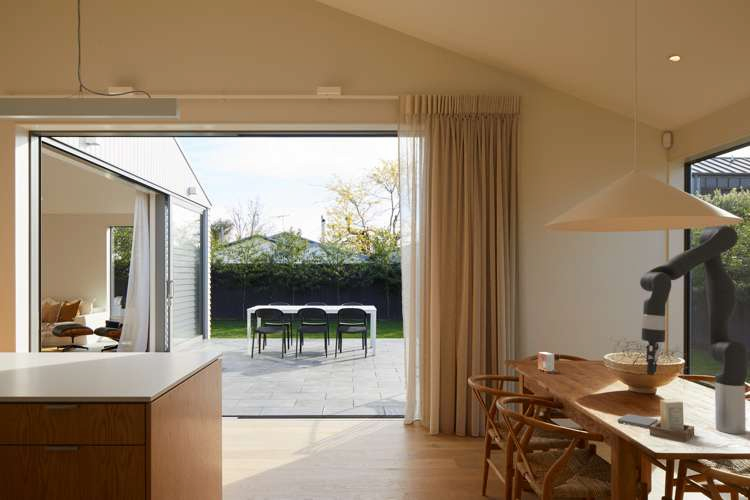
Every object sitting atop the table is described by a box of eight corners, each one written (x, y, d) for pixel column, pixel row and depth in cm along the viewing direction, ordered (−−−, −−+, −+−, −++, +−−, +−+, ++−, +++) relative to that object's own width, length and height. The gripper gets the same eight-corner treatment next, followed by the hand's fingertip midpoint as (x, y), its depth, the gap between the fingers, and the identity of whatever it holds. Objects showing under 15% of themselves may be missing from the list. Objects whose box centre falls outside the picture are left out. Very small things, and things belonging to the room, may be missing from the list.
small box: (537, 370, 311) (537, 352, 311) (546, 369, 313) (545, 351, 313) (546, 372, 303) (546, 354, 304) (554, 372, 305) (554, 353, 305)
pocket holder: (659, 428, 199) (659, 420, 199) (694, 434, 191) (694, 426, 191) (649, 435, 191) (649, 426, 191) (685, 442, 183) (685, 433, 183)
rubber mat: (627, 416, 214) (627, 413, 214) (657, 422, 207) (657, 419, 207) (617, 422, 206) (617, 419, 206) (648, 428, 199) (648, 425, 199)
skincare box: (677, 433, 193) (676, 399, 194) (684, 437, 189) (684, 402, 189) (659, 433, 193) (659, 399, 193) (666, 437, 189) (666, 402, 189)
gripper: (663, 329, 184) (662, 377, 183) (666, 328, 196) (665, 372, 195) (639, 327, 188) (637, 374, 187) (644, 325, 200) (642, 369, 199)
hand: (651, 373), depth 191 cm, fingers open, 8 cm apart
